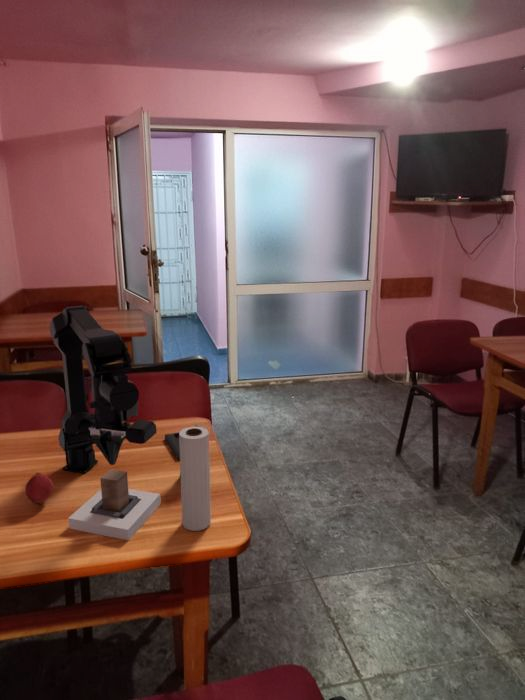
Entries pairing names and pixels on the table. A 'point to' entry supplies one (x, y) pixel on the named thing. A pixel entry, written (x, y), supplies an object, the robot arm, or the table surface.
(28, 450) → the table surface
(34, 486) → the onion
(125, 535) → the collar block
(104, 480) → the walnut peg
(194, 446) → the paper towel roll
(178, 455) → the vhs tape
